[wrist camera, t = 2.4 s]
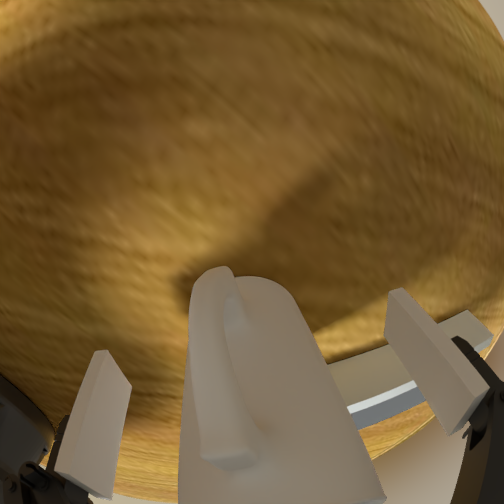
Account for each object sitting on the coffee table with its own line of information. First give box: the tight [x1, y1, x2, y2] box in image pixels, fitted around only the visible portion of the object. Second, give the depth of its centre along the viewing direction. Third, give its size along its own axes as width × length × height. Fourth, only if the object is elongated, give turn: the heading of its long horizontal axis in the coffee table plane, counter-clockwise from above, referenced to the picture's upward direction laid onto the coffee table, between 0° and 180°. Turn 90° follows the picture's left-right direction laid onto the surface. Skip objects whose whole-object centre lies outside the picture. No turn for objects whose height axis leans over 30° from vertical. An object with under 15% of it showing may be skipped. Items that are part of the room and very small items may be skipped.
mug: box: [178, 266, 387, 504], centre depth 10 cm, size 10×7×12 cm, turn 15°
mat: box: [351, 387, 426, 430], centre depth 22 cm, size 11×11×1 cm
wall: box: [327, 310, 494, 414], centre depth 18 cm, size 22×1×4 cm, turn 101°
